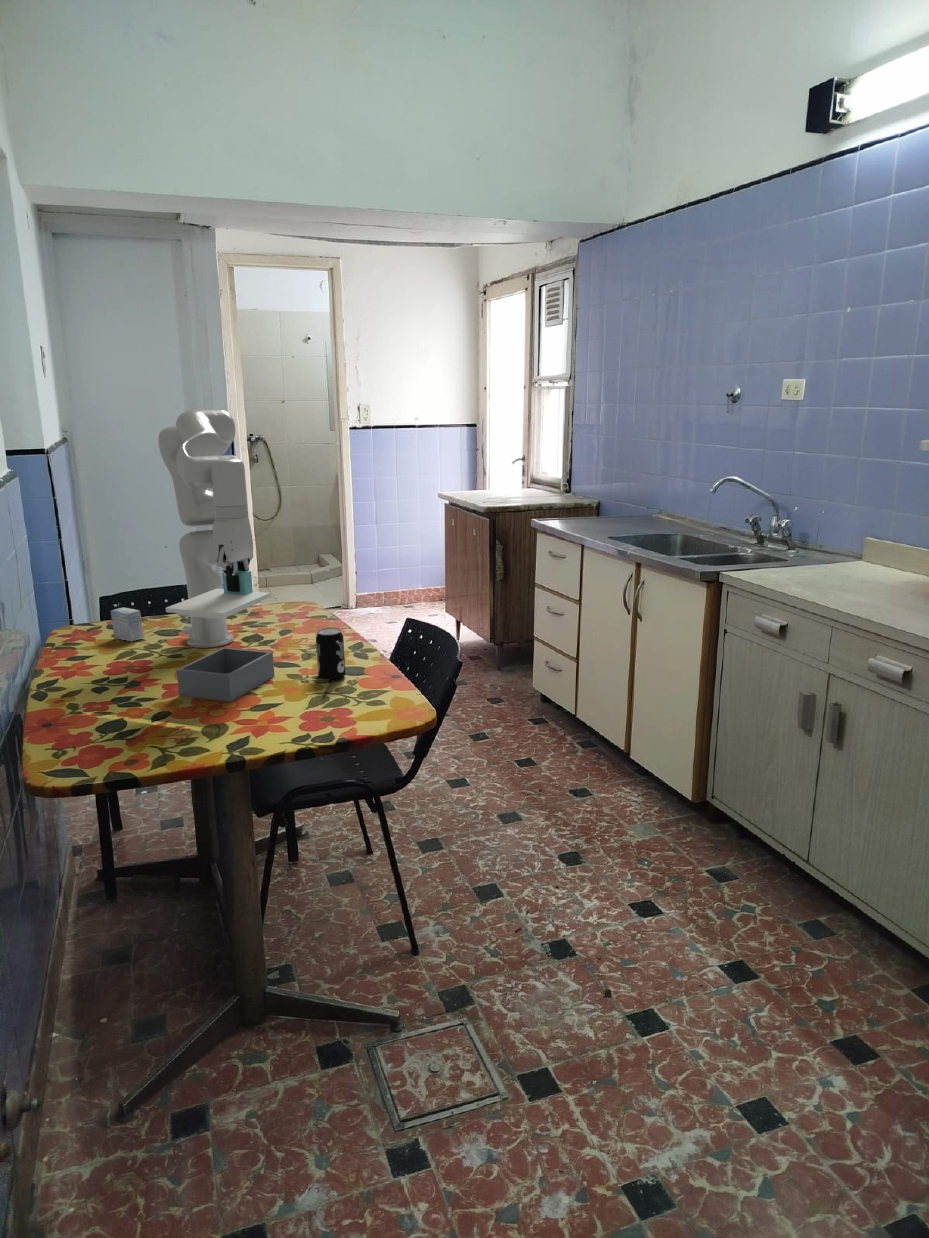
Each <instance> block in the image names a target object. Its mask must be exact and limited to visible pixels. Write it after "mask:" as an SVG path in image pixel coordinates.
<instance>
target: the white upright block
mask: <svg viewBox="0 0 929 1238" xmlns="http://www.w3.org/2000/svg"><path fill="white" fill-rule="evenodd" d="M110 617H111V624H112V631H113V638H118V639H121V640H120V641H123V640H127V641H133V640H138V639H141V638H145V635H144V631H143V629H144V628H143V623H142V622H143V621H142V617H141V610H139V609H135V608H130V607H118V608H116V609H113V610H110ZM118 639H117V640H118ZM127 641H126V642H127Z"/></svg>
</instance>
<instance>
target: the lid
mask: <svg viewBox="0 0 929 1238" xmlns="http://www.w3.org/2000/svg"><path fill="white" fill-rule="evenodd" d="M221 575H222V582H223V589H214V590H211V591H209V592H206V593H204V594H201V595H198V596H196V597H193V598H190V599H188V598H187V599H185V600H183V601H180V602H178V603H175V604H172V605H169V606H167V607H165V612H166V613H173V614H177V616H181V617H182V616H183V617H190V616H192V617H203V618H213V619H224V618H226V619H227V618H228V617H230V616H233V615H234V614H237V613H239V612H242V611H244V610H246V609H249V608H251V607H253V606H255V605H257V604H260V603H261V602H262V601H265V600H267V599H269V598H271V592H267V591H266V592H265V591H254V590H253V577H252V571H250V570H249V571H237V575H239V585H240V591H239V592H230V591H227V583H226V575H224V572H223V571H222V573H221Z"/></svg>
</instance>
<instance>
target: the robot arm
mask: <svg viewBox="0 0 929 1238" xmlns="http://www.w3.org/2000/svg"><path fill="white" fill-rule="evenodd" d="M157 437H158V439H157V441H158V448H159V453H160V456H161V458H162V461H163V463H164V465H165V467H166V468H167V470H168V473H169V474H170V476H171V479H172V483H173V488H174V493H175V499H176V506H177V510H178V515H179V519H180V521H181V523H182V524H183V526H186V527H189V528H196V527H197V528H200V527H210V526H211V527H213V529H207V530H206V529H205V530H204V529H203V530H195V531H190V532H187V533H185V534H184V535H182V536H181V538H180V540H179V542H178V546H179V548H178V549H179V553H180V557H181V560H182V561H181V562H182V563H183V564H182V565H183V568H184V574H185V579H186V580H185V581H186V590H187V600H188V599H190V598H193V597H196V596H198V595H201V594H204V593H206V592H209V591H211V590H214V589H224V587H223V578H222V577H221V576H220V574H219V573H218V572H217V571H216V570H214V569H213V567H212V566H215V565H216V567H217V568H218V569H219V570H221V571H222V572H224V575H226V583H227V591H230V592H239V591H240V585H239V575H237V571H250V566H249V565H250V563H251V561H252V559H253V558H254V542H253V533H252V528H251V522H250V519H249V517H250V516H249V507H248V495H247V494H248V493H247V482H246V481H247V480H246V470H245V468H246V467H245V463H244V461H243V460H241V459H240V458H239V457H238V456H236V455H232V454H231V455H230V454H227V455H226V452H227V451H228V449H229V448H230V447H231V445H232V443H233V442H234V440H235V437H236V425H235V421H234V418H233V417H232V415H231V414H230V413H229V412H228V411H226V410H224V409H193V410H192V409H191V410H186V411H184V412H182V413H180V414H179V415H178V417H177V419H176V421H175V425H174V426H169V427H166V428H163V429H162V430H160V432H159V434H158V436H157ZM224 454H225V455H224ZM209 489H212V490H209ZM189 617H190V625H187V624H185V625H184V626H183V629H181V633H182V634H183V635H188V638H187V639H186V643H187V645H188V646H189V647H191V648H199V649H209V648H210V649H211V648H215V647H216V648H217V647H223V646H225V645H228V644H230V643H232V642H233V641H234V640H235V637H234V635H233V634H232V633H230V632H228V624H227V617H226V618H224V619H213V618H203V617H192V616H189Z"/></svg>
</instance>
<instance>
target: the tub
mask: <svg viewBox="0 0 929 1238" xmlns="http://www.w3.org/2000/svg"><path fill="white" fill-rule="evenodd" d="M175 671H176V680H177V688H178V689H177V690H178V695H179V696H180V697H187V698H195V699H197V698H198V699H204V700H213V701H221V702H228V703H229V702H230V703H232V702H233V701H236V700H237V699H239V698H240V697H242V696H244V695H246V694H247V693H249V692H251V691H252V690H255V689H257V687H259V686H261V685H262V684H264V683H266V682H268V681H269V680H271V679H273V678H275V676H276V675H275V666H274V652H273V651H267V650H253V649H245V648H244V649H243V648H234V647H223V646H222V647H220V648H219V649H217V650H215V651H212V652H211V653H209V654H207V655H204V656H203V657H200V658H198V659H196V660H194V661H192V662H190V663H188V664H185V665H183V666H181V667H178V668H177V669H176V670H175Z"/></svg>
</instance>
